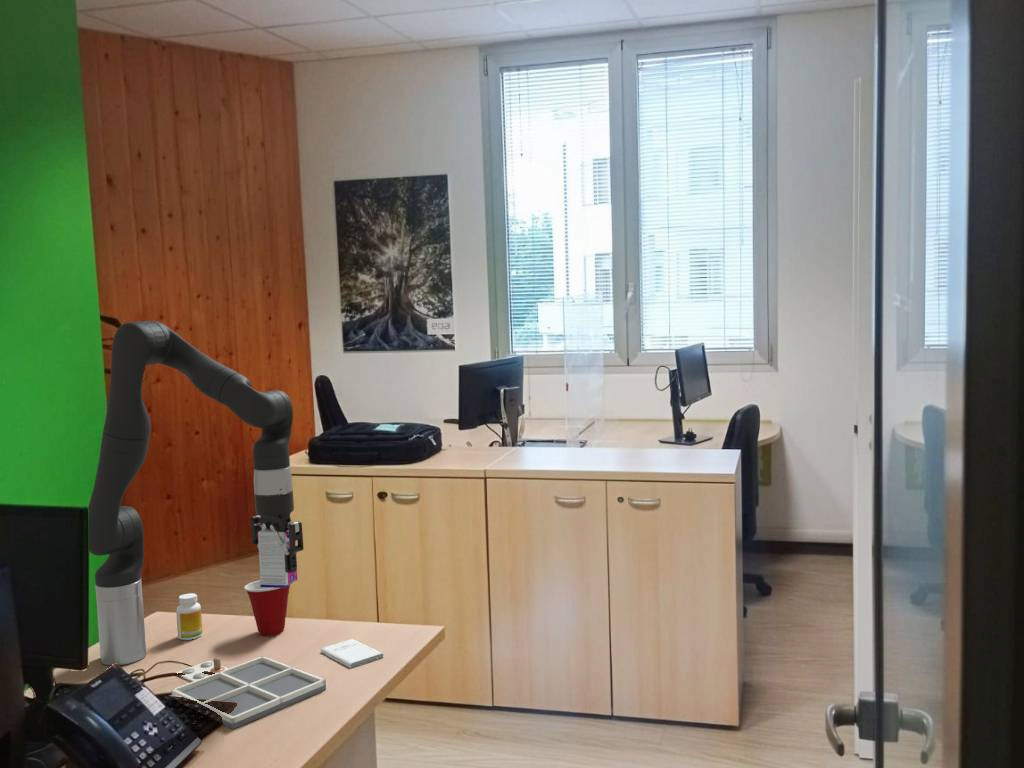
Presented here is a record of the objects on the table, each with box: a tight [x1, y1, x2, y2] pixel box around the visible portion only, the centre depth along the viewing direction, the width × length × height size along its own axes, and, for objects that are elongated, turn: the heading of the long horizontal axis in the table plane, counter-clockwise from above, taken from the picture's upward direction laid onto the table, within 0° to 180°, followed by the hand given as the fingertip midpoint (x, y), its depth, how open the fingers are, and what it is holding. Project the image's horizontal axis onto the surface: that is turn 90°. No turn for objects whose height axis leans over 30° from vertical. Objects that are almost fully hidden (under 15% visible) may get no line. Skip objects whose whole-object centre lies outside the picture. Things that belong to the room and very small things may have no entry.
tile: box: [175, 657, 230, 683], centre depth 189 cm, size 8×8×3 cm
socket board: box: [170, 655, 327, 730], centre depth 178 cm, size 21×21×2 cm
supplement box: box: [257, 529, 298, 588], centre depth 184 cm, size 6×6×12 cm
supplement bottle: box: [175, 593, 203, 641], centre depth 211 cm, size 5×5×10 cm
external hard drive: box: [320, 638, 384, 669], centre depth 197 cm, size 2×8×12 cm
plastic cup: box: [243, 579, 291, 637], centre depth 212 cm, size 11×11×12 cm
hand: (278, 569), depth 184 cm, fingers closed on supplement box, 7 cm apart
